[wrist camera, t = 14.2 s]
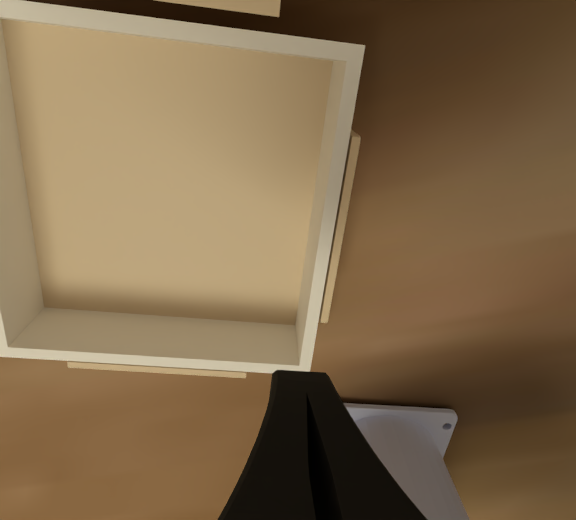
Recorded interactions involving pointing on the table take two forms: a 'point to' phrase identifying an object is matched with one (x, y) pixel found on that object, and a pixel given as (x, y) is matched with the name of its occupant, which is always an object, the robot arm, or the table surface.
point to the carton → (169, 190)
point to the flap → (237, 5)
